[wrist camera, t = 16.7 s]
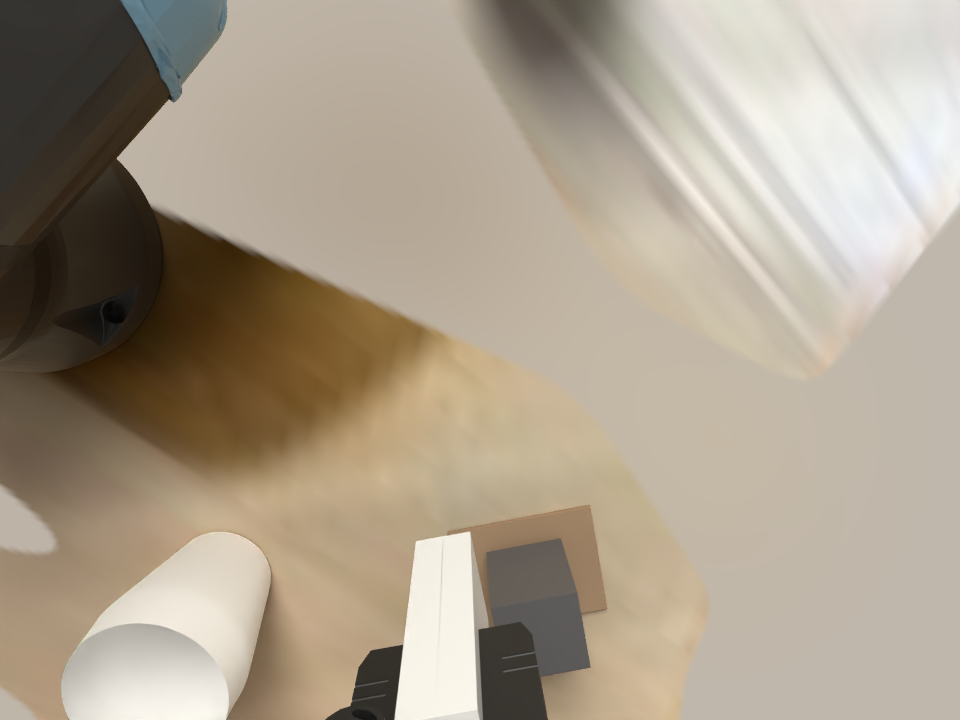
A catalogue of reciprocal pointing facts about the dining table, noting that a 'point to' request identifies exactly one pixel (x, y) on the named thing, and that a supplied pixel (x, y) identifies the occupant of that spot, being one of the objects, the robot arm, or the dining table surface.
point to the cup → (174, 638)
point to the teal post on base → (538, 528)
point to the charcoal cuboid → (540, 602)
